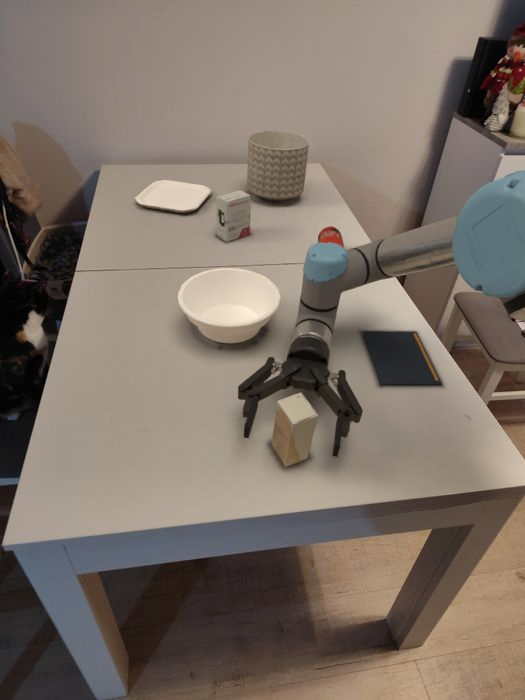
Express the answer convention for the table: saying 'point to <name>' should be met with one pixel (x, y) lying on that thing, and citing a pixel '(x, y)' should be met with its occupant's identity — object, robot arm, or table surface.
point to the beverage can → (330, 236)
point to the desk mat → (400, 358)
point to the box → (293, 429)
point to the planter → (277, 164)
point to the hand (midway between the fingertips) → (290, 442)
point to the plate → (173, 196)
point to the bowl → (229, 303)
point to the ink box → (233, 215)
